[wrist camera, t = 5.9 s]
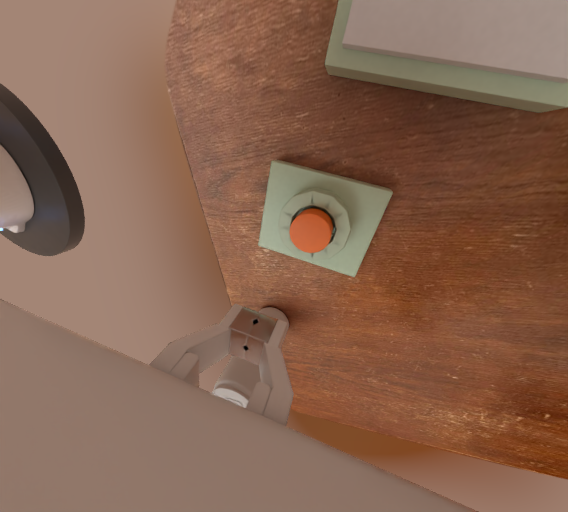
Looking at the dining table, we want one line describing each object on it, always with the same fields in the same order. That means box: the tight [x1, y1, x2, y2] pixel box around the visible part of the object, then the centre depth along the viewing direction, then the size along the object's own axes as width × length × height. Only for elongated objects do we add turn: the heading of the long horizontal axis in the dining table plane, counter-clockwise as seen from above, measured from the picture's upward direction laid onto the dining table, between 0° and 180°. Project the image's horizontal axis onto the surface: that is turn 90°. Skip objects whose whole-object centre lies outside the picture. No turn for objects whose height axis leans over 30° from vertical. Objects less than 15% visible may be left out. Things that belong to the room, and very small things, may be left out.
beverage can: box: [212, 307, 289, 408], centre depth 26 cm, size 5×5×12 cm
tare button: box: [289, 208, 333, 253], centre depth 19 cm, size 4×4×2 cm
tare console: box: [258, 160, 393, 277], centre depth 21 cm, size 11×9×4 cm
